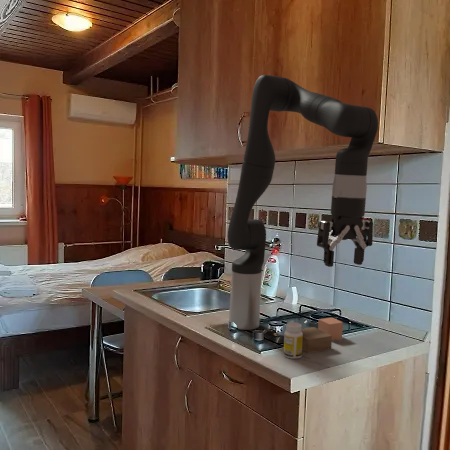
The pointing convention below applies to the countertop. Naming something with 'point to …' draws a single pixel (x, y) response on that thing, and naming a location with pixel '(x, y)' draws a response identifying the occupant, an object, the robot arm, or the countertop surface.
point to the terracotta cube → (331, 327)
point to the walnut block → (315, 340)
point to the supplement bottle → (293, 340)
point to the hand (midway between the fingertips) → (343, 265)
